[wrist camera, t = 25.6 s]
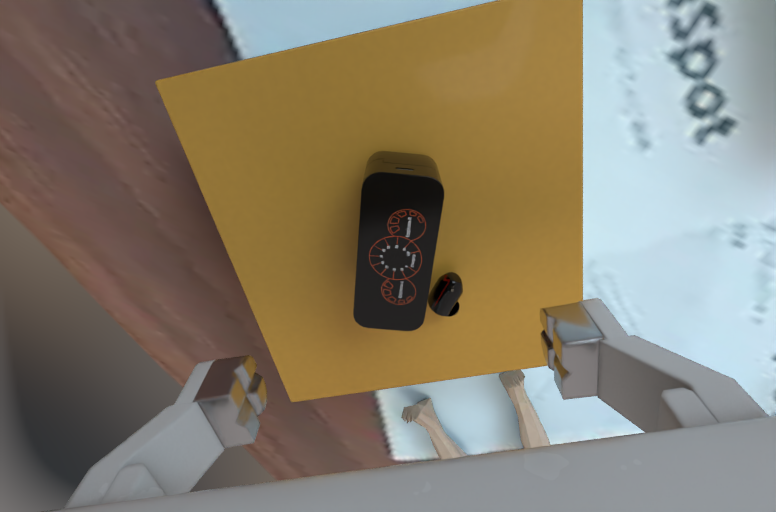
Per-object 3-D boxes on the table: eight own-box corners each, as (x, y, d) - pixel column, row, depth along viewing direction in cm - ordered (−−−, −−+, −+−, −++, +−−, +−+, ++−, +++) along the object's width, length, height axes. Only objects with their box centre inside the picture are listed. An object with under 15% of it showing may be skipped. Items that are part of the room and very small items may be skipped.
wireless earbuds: (357, 298, 20) (351, 343, 18) (368, 145, 17) (362, 170, 14) (456, 306, 21) (465, 352, 18) (486, 157, 17) (503, 183, 14)
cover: (293, 393, 24) (291, 402, 24) (162, 79, 17) (153, 81, 16) (578, 352, 23) (583, 361, 22) (575, -18, 15) (583, -20, 14)
